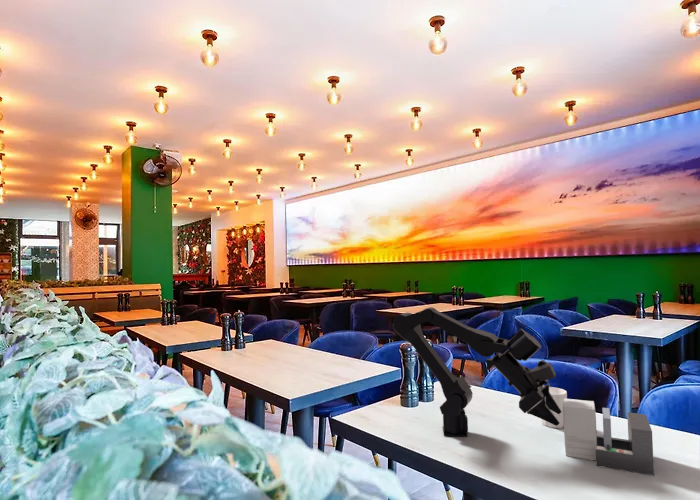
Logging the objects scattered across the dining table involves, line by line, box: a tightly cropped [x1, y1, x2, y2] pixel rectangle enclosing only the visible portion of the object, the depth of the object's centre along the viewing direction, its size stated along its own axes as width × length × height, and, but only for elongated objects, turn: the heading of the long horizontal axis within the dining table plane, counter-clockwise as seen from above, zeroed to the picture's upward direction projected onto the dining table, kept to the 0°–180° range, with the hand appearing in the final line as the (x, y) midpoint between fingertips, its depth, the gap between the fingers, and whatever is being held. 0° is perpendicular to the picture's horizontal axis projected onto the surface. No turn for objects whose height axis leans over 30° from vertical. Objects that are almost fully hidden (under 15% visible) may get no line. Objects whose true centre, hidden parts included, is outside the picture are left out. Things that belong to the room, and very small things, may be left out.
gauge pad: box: [601, 407, 612, 449], centre depth 109 cm, size 2×10×10 cm, turn 152°
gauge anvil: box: [595, 412, 655, 476], centre depth 108 cm, size 12×12×10 cm
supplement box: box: [563, 398, 598, 461], centre depth 113 cm, size 7×7×13 cm
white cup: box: [540, 386, 568, 429], centre depth 133 cm, size 8×8×10 cm
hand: (559, 418), depth 115 cm, fingers open, 9 cm apart
